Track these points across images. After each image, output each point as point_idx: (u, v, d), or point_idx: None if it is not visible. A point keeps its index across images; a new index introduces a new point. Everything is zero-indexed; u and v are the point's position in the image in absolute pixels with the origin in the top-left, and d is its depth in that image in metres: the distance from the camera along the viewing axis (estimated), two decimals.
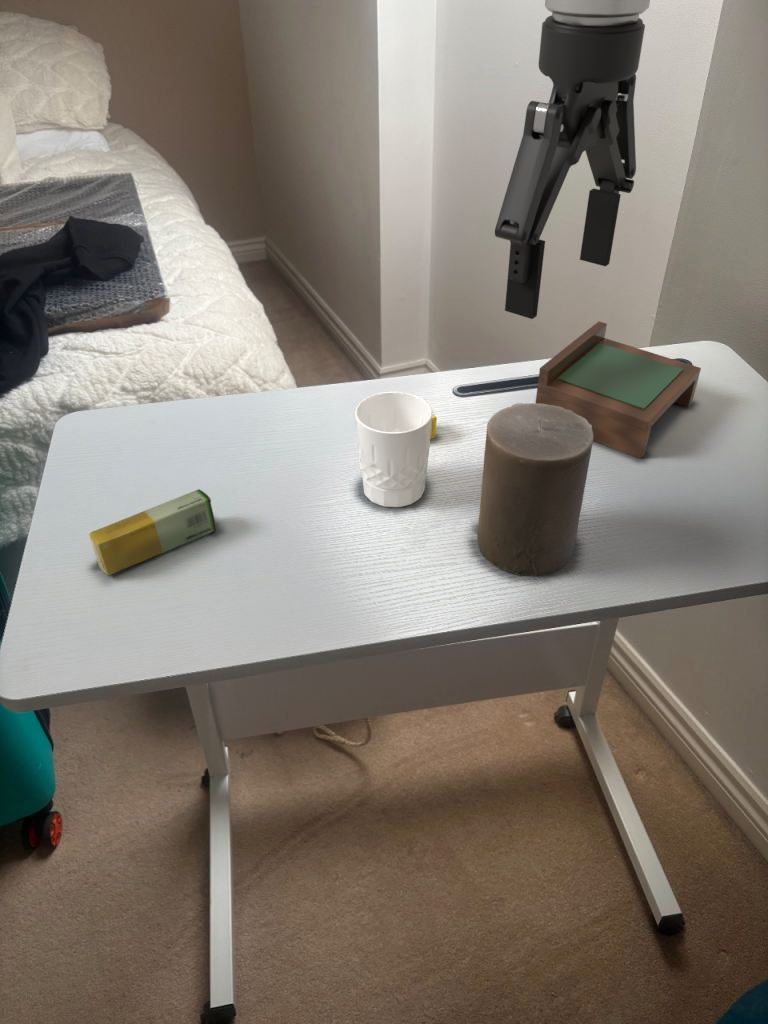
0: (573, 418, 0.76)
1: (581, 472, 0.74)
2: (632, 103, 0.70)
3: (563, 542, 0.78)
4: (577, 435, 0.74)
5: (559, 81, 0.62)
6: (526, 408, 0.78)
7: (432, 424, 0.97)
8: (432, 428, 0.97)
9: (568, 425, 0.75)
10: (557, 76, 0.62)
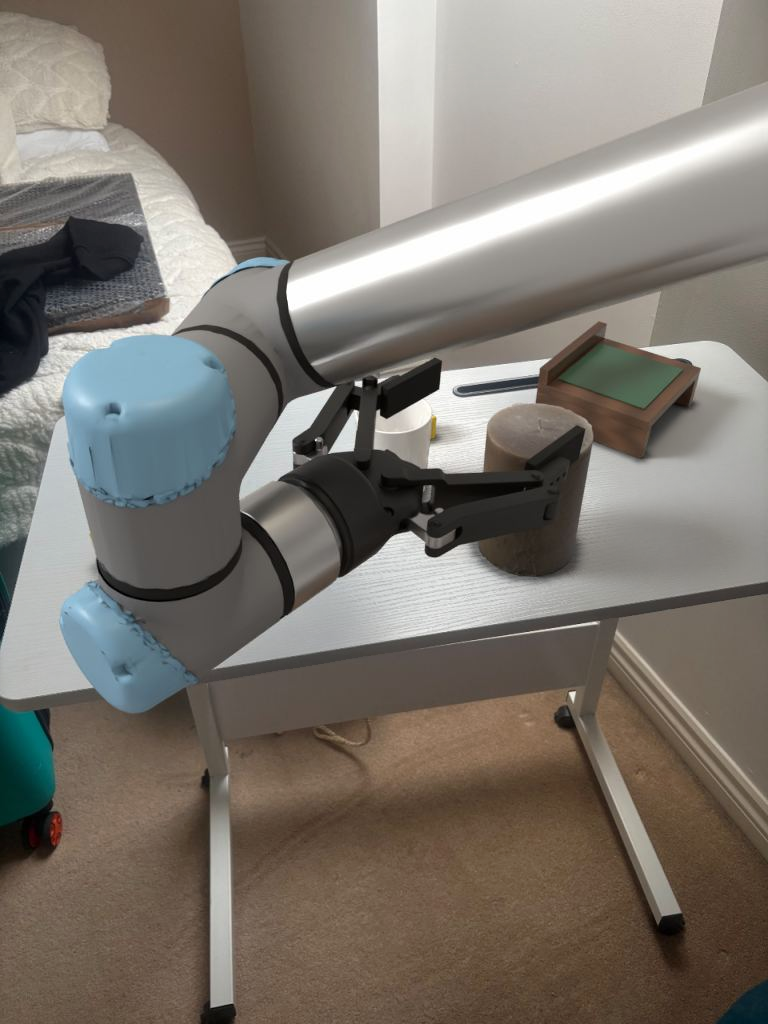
0: (573, 418, 0.76)
1: (581, 472, 0.74)
2: (310, 426, 0.60)
3: (563, 542, 0.78)
4: None
5: (389, 534, 0.53)
6: (526, 408, 0.78)
7: (432, 424, 0.97)
8: (432, 428, 0.97)
9: (568, 425, 0.75)
10: (385, 539, 0.53)
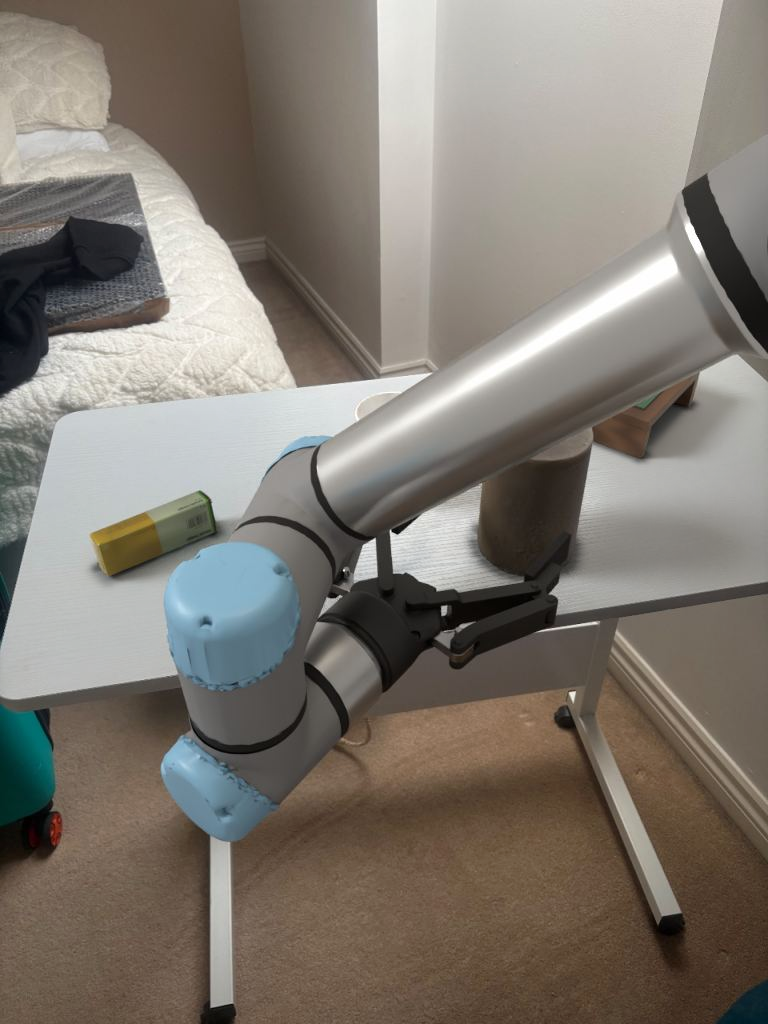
0: None
1: (581, 472, 0.74)
2: None
3: None
4: (577, 435, 0.74)
5: (418, 653, 0.63)
6: None
7: None
8: None
9: None
10: (415, 657, 0.63)
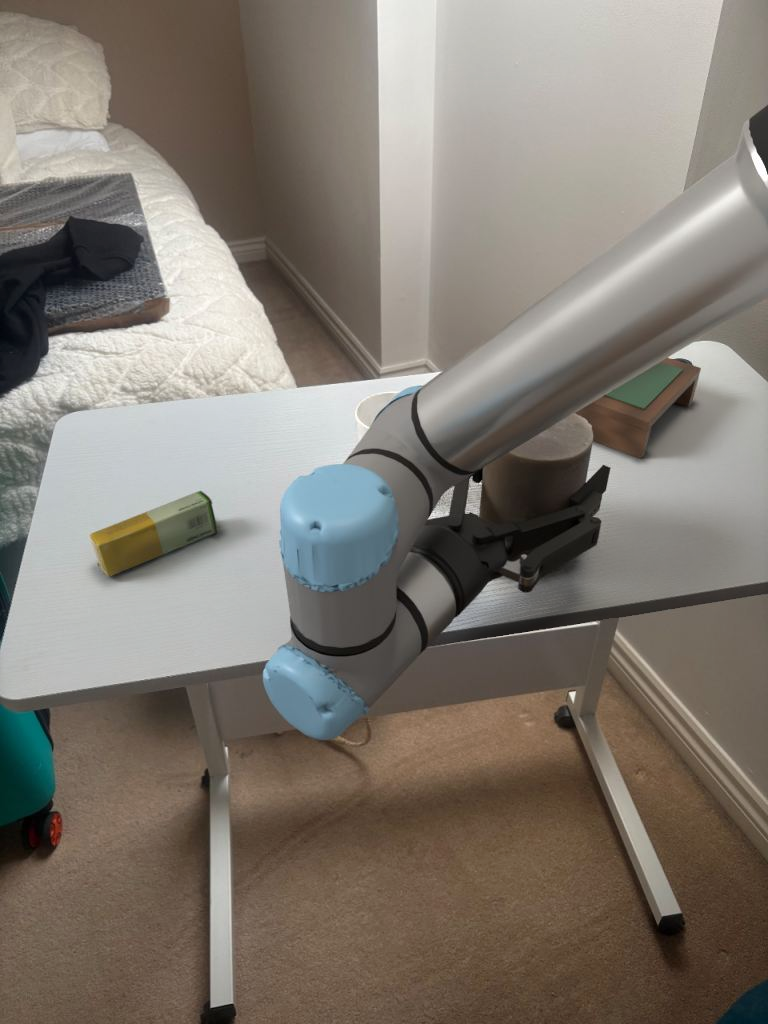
0: (573, 418, 0.76)
1: (581, 472, 0.74)
2: None
3: None
4: (577, 435, 0.74)
5: (486, 582, 0.68)
6: None
7: None
8: None
9: (568, 425, 0.75)
10: (483, 586, 0.68)
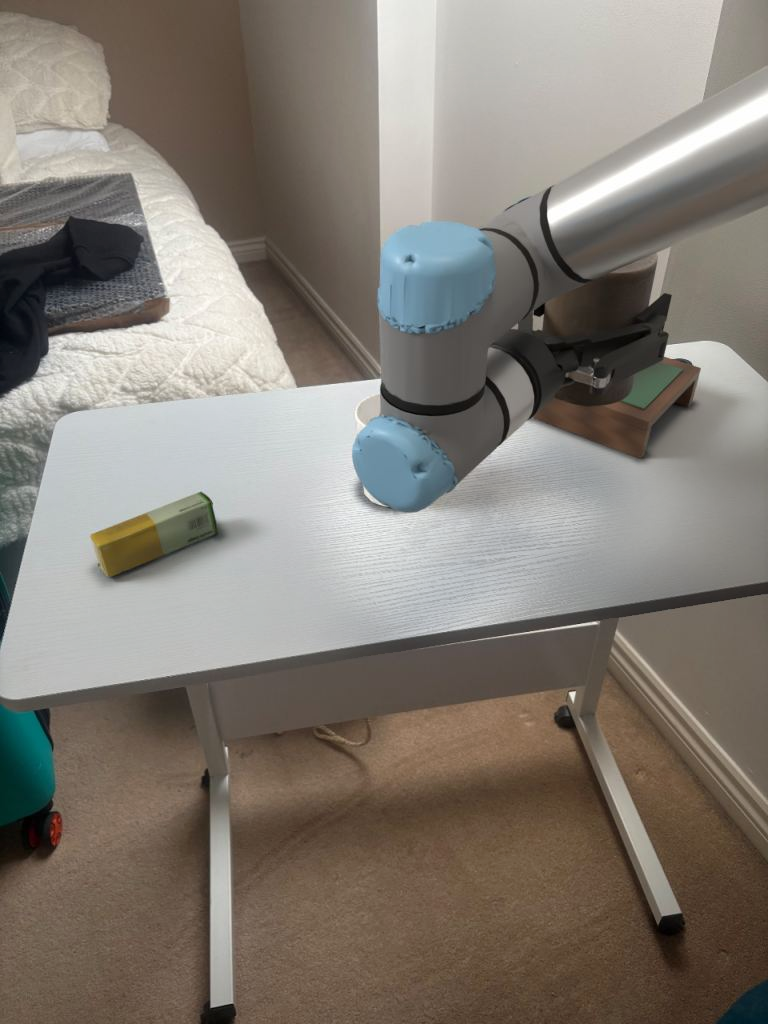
0: None
1: (646, 290, 0.75)
2: None
3: None
4: None
5: (559, 385, 0.70)
6: None
7: None
8: None
9: None
10: (557, 389, 0.70)
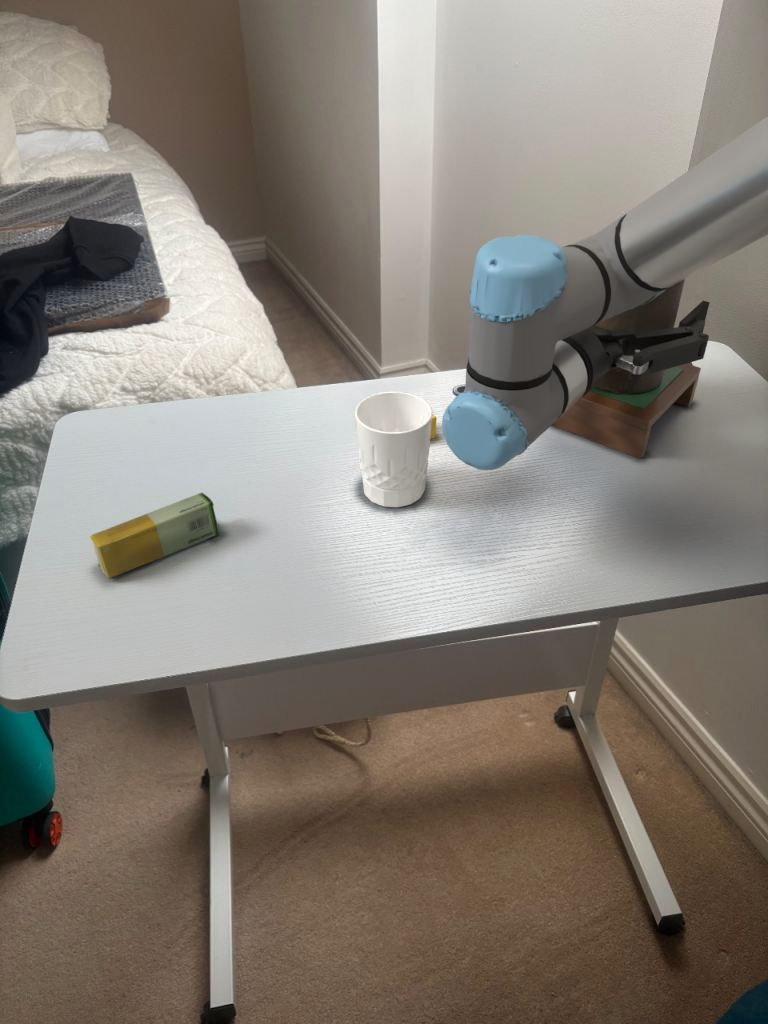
0: None
1: (677, 296, 0.89)
2: None
3: None
4: None
5: (607, 369, 0.84)
6: None
7: (432, 424, 0.97)
8: (432, 428, 0.97)
9: None
10: (605, 372, 0.84)
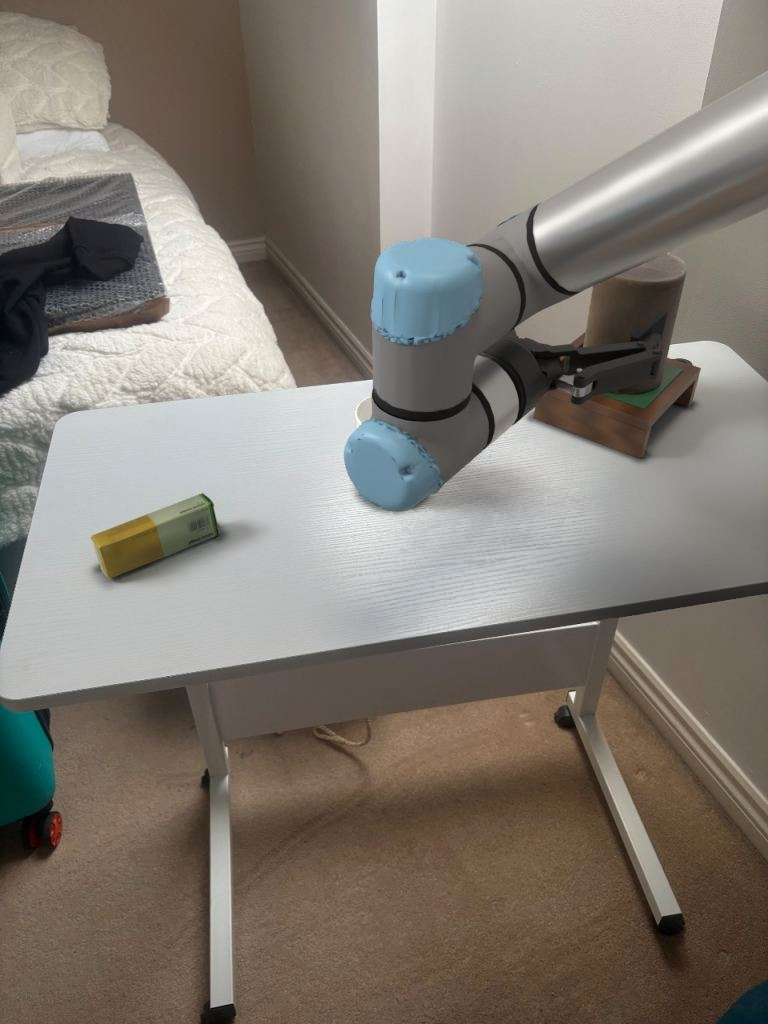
0: (668, 256, 0.92)
1: (677, 296, 0.89)
2: None
3: None
4: (673, 266, 0.90)
5: (544, 391, 0.73)
6: None
7: None
8: None
9: (664, 260, 0.91)
10: (542, 394, 0.73)
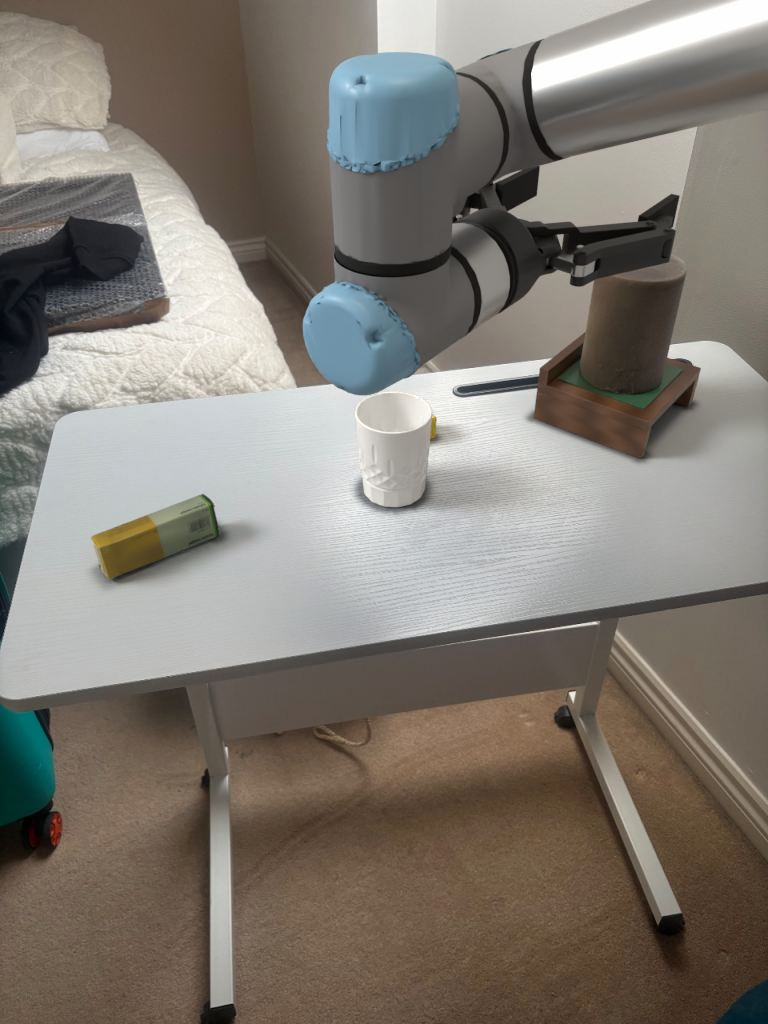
0: None
1: (677, 296, 0.89)
2: None
3: (658, 362, 0.94)
4: (673, 266, 0.90)
5: (540, 271, 0.63)
6: None
7: (432, 424, 0.97)
8: (432, 428, 0.97)
9: None
10: (537, 275, 0.63)
